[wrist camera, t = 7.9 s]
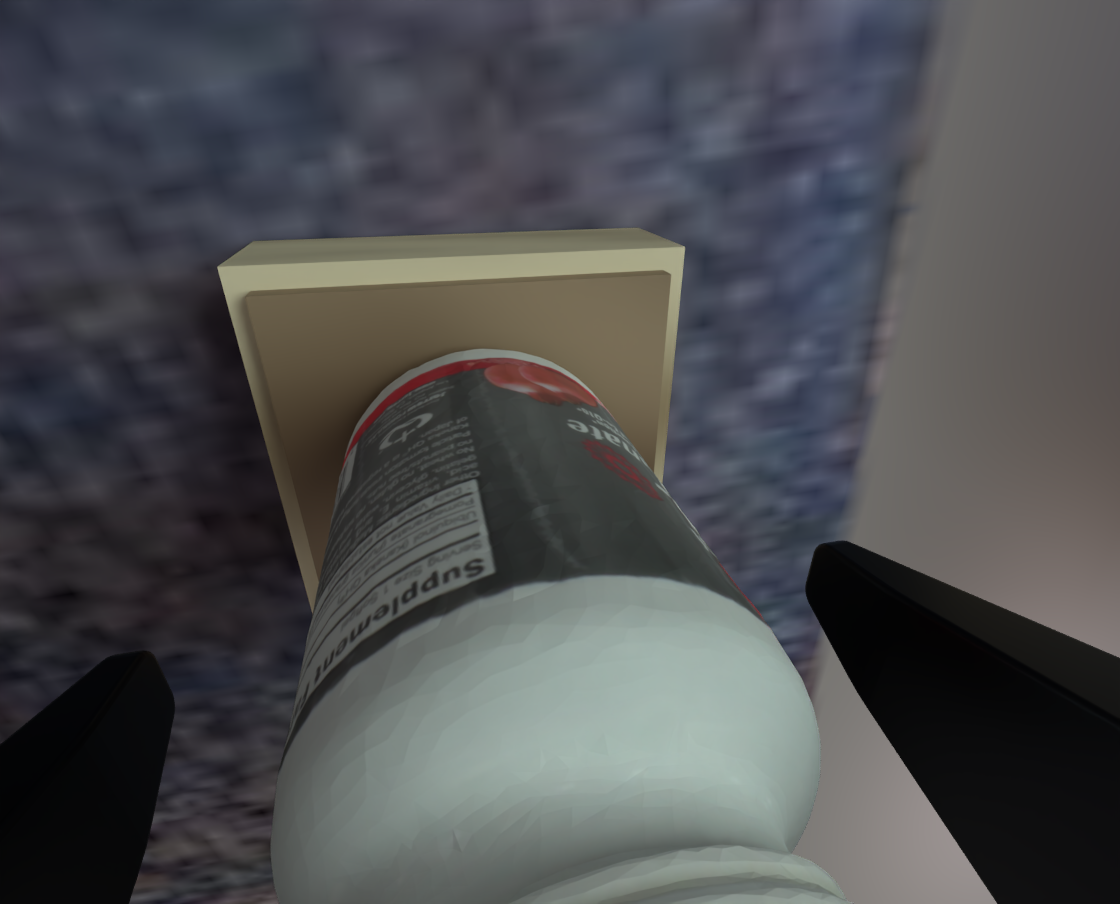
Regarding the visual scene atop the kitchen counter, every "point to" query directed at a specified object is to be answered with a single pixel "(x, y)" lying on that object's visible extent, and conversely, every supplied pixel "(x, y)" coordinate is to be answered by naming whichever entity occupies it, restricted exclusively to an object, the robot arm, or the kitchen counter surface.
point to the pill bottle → (533, 672)
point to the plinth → (441, 335)
